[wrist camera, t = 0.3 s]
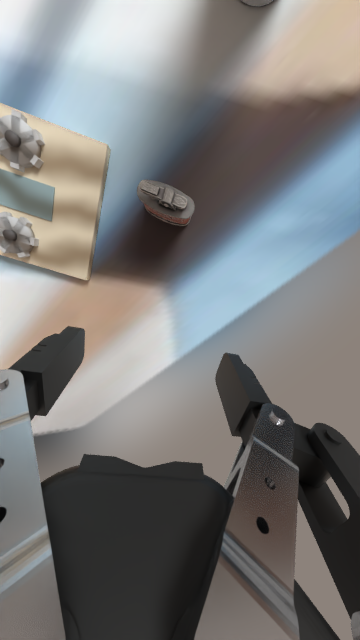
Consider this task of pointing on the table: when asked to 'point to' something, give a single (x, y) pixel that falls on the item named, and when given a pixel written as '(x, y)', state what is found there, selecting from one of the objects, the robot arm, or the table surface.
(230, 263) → the table surface
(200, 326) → the table surface
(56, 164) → the gear board
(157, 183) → the lighter
